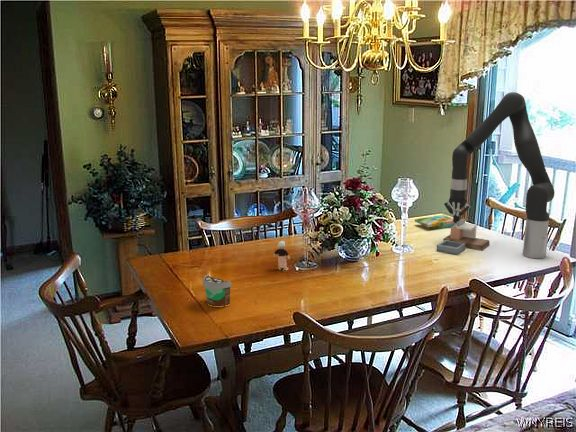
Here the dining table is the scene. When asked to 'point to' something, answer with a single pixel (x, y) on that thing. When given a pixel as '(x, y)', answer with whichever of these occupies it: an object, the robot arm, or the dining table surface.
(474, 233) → the light grey blocky form
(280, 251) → the grandmother figurine
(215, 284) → the food container
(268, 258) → the dining table surface
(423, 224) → the puzzle game
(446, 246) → the tray
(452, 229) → the block
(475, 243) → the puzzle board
